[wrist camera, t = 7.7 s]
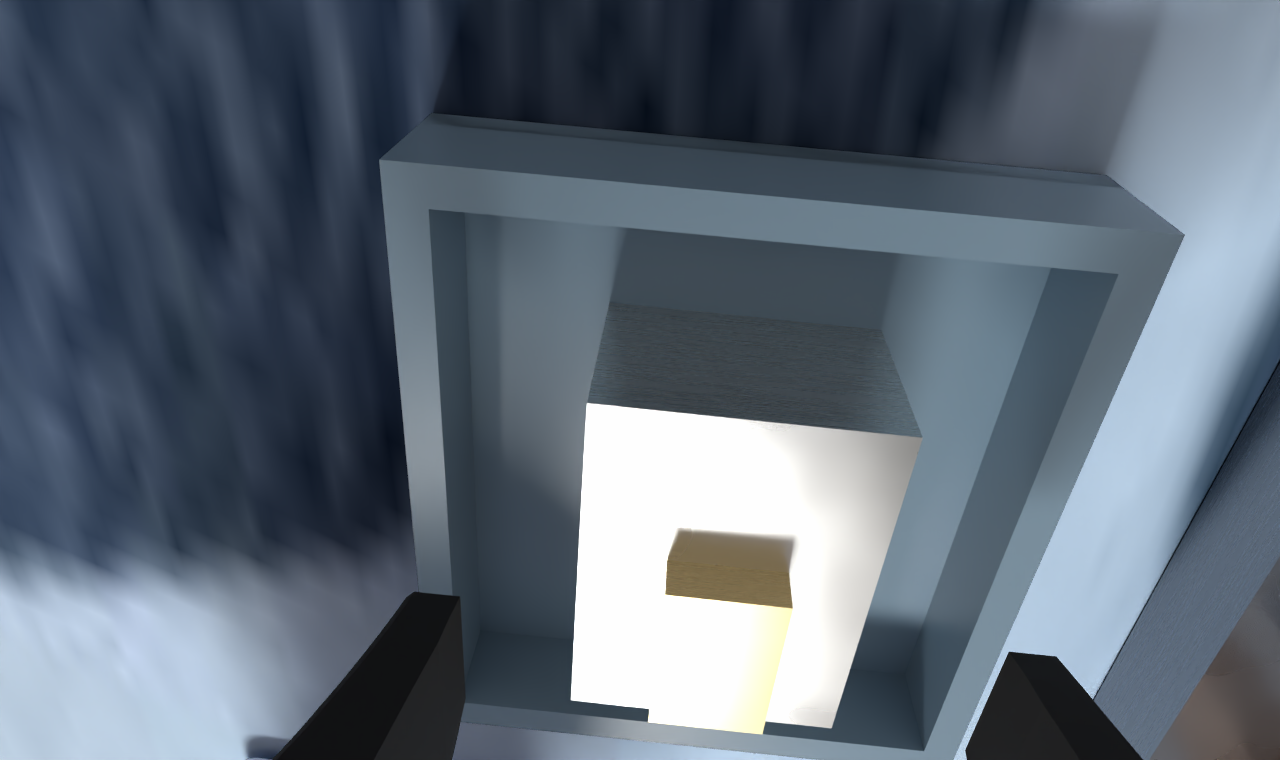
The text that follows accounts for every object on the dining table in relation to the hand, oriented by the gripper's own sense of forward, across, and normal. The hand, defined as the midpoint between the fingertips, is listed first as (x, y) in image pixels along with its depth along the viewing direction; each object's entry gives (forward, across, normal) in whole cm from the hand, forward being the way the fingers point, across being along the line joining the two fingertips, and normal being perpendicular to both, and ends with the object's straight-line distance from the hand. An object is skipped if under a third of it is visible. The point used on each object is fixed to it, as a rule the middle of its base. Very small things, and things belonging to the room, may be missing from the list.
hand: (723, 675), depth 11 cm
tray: (+5, 0, 0) cm, 5 cm away
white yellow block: (+5, 0, 0) cm, 5 cm away
